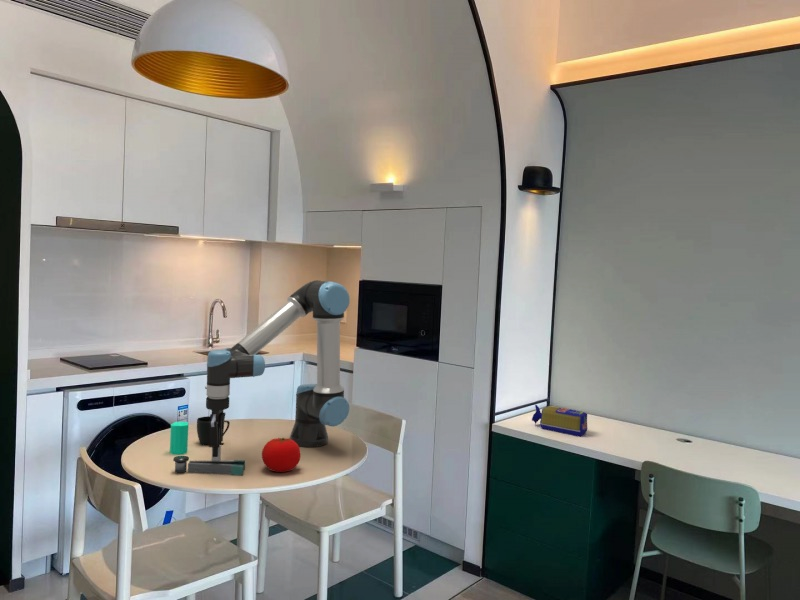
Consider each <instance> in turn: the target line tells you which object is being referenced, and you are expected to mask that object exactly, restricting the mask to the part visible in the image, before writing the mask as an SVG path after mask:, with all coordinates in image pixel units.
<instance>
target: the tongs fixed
mask: <svg viewBox="0 0 800 600" xmlns="http://www.w3.org/2000/svg"><path fill="white" fill-rule="evenodd" d="M189 458H190V457H189V456H188V455H176V456H174V457H173V462H175V463H174V473H175V474H180V475H181V474H186V472H187V473H190V474H209V475H211V474H214V475H215V474H216V475H231V476H243V475H244V471H245V470H244V465H235V464H212V463H189V461H190V459H189Z"/></svg>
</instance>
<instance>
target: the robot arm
mask: <svg viewBox="0 0 800 600" xmlns="http://www.w3.org/2000/svg"><path fill="white" fill-rule="evenodd" d="M349 306H350V295H349V292H348V290H347V288H346V287H345V286H344V285H343V284H340V283H338V282H335V281H329V280H328V281H327V280H326V281H325V280H324V281H323V280H312V281H309V282H307V283H305V284H304V285H302V286H301V287H299V288H298V289H296V291H295V292H293V293H292V294H291V295H290V296H289V297H287V302H285V303H283V305H282V306H280V307H279V308H278V309H277V310H275V311H274V312H273V313H272V314H271V315H269V316H268V317H267V318H266V319H265V320H264V321H262V322H261V323H260V324H258V325H257V326H256V327H254V329H252V330H251V331H250V332H249V333H248V334H246V335H245V336H244V337H243V338H242V339H241V340H239V341H238V342H236V344H234V345H233V346H232V347H228V348H224V349H215V350H211V351H209V352H208V354H207V357H206V358H207V359H206V360H207V361H206V386H204V389H205V390H206V393H205V394H206V398H205V399H206V400H205V408H206V409H207V410H209V411H210V410H211V413H210V415H209V416H210V420H211V421H209V431H210V445H208V446H209V448H211V459H210V461H222V460H221V458H222V446H223V445H224V444H225V443H224V442H223V441H224V436H223V433H224V431H225V428H224V427H225V422H224V421H226V420H225V418H226V412H224V410H227V409H229V407H230V397H229V396H230V395H231V390H230V389H231V379H235V378H237V379H238V378H239V379H240V378H252V377H253V378H255V377H260V376H262V375H263V374H264V372H265V370H266V361H265V358H264V357H263V355H261V354H258V353H259V352H261V350H262V349H264V348H265V347H266V346H267V345H268V344H270V343H271V342H272V341H273V340H274V339H276V338H277V337H278V336H279V335H280V334H282V333H283V332H284V331H285V330H286V329H287V328H289V327H290V326H291V325H293V323H294V322H296V321H297V320H298V319H299V318H304V317H306V316H307V315H308V314H310V313H312V319H313V320H315V322H316V375H317V376H316V381H317V382H316V383H307V384H301V385H298V386H297V388H296V392H295V393H296V394H295V415H294V416H295V417H294V419H295V420H294V425H293V428H292V429H291V432H290V435H289V439H291V440H293V441H295V442H296V443H297V444H298V446H299V447H303V448H304V447H305V448H315V447H322V446H325V445H327V444H328V442H329V435H328V431H327V427H326V426H328V427H337V426H339V425H341V424H342V423H344V421H345V420H346V419H347V417H348V416H349V413H350V403H349V401H348V399H346V398H345V388H344V386H342V385H341V324H340V323H341V321H342V320H343V319H344V318H345V312H346V310H347V309H348V308H349Z"/></svg>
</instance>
